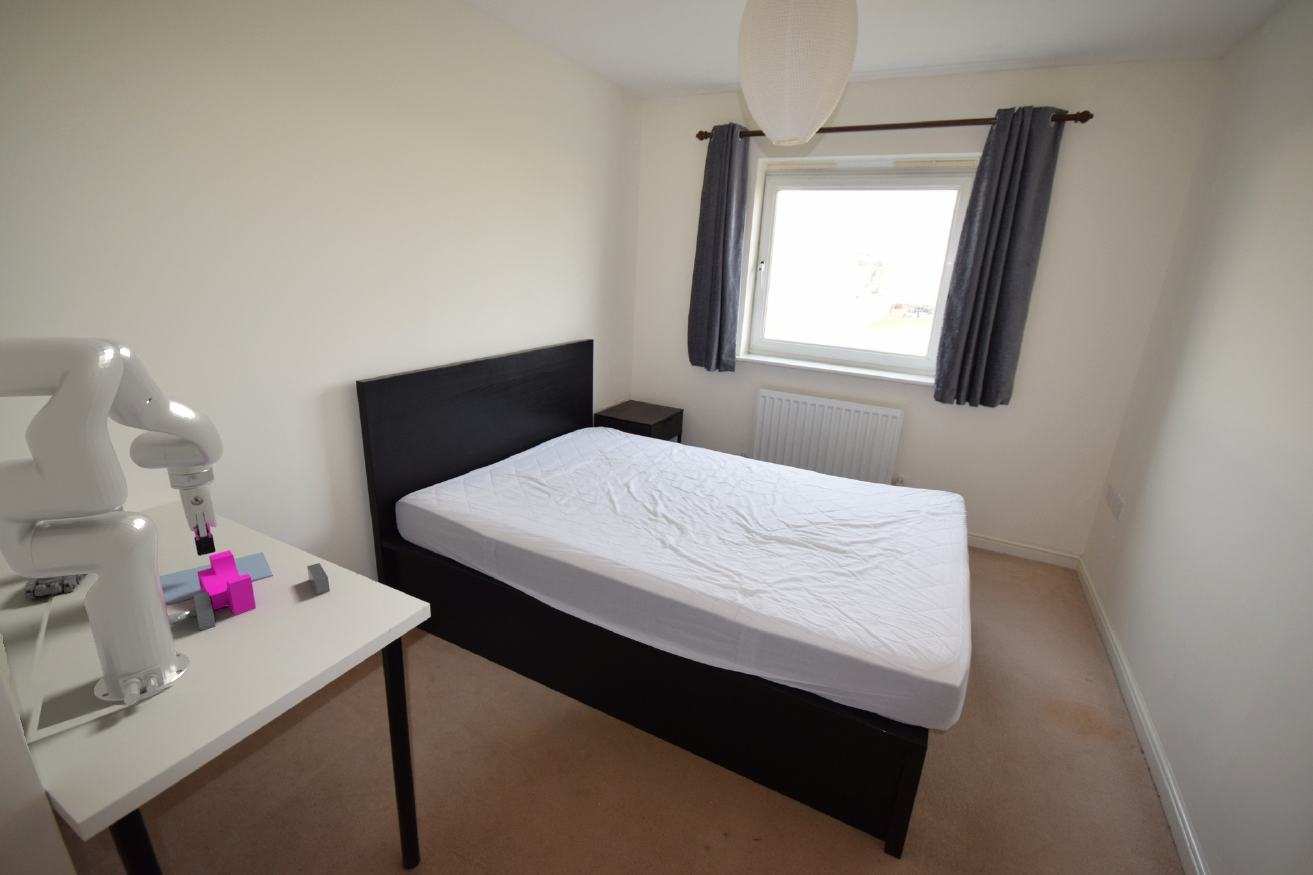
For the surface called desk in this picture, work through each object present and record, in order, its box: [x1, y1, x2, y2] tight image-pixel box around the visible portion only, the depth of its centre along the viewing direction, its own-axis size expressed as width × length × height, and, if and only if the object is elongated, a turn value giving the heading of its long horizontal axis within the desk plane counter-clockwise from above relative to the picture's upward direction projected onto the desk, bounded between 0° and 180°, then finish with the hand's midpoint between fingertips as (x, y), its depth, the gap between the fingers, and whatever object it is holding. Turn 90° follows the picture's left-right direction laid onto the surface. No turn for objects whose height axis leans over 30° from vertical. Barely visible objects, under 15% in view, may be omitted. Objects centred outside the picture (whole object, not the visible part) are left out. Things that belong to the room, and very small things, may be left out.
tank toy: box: [24, 574, 89, 601], centre depth 125 cm, size 12×10×5 cm
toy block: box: [197, 549, 257, 616], centre depth 121 cm, size 15×6×8 cm, turn 49°
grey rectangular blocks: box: [168, 562, 331, 632], centre depth 120 cm, size 8×28×4 cm, turn 131°
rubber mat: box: [160, 551, 274, 606], centre depth 130 cm, size 14×22×1 cm, turn 131°
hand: (206, 552), depth 129 cm, fingers closed
